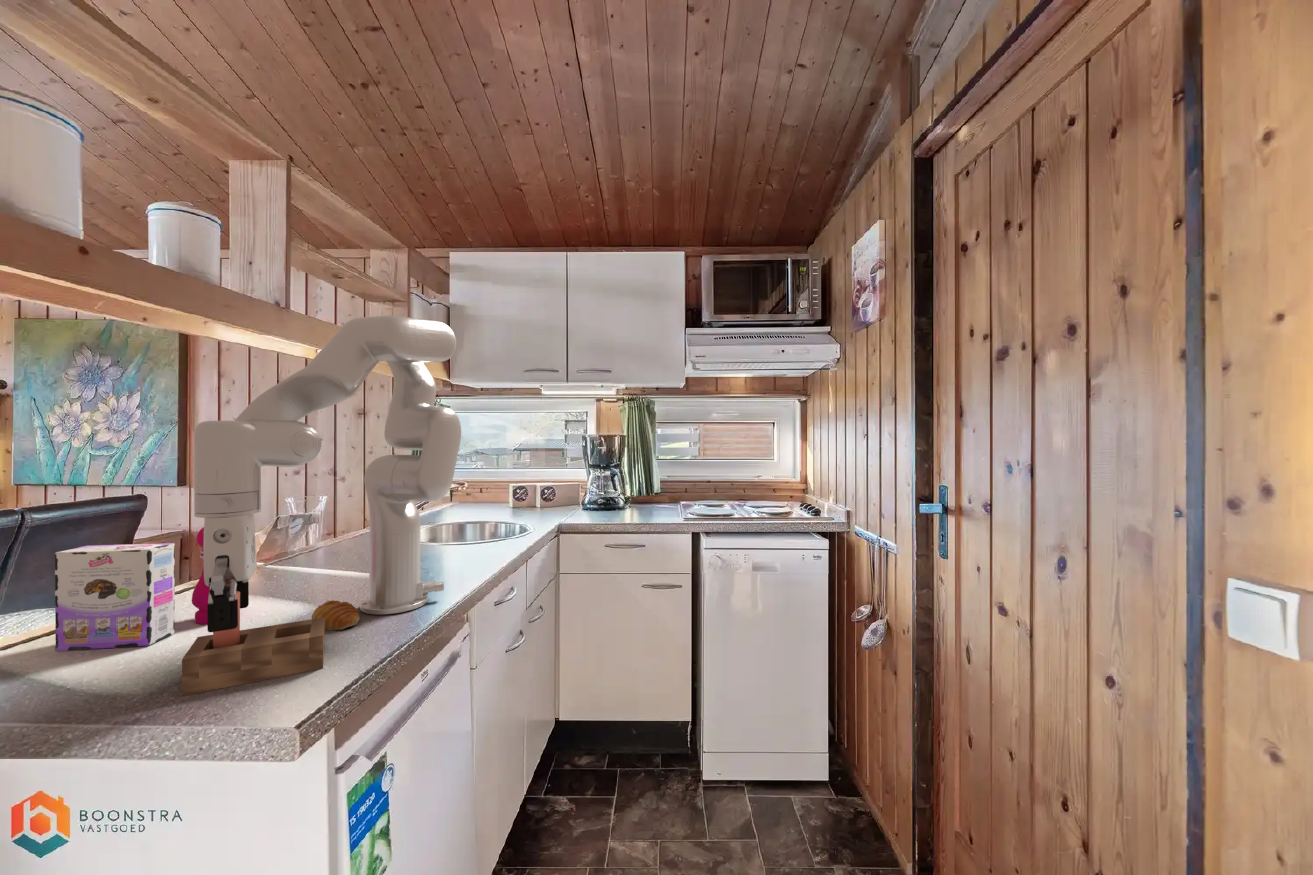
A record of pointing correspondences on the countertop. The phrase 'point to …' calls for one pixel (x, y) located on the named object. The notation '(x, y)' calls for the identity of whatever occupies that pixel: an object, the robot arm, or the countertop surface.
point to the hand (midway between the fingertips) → (229, 618)
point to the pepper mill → (201, 589)
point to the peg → (228, 632)
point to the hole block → (254, 656)
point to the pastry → (337, 615)
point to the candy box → (114, 596)
